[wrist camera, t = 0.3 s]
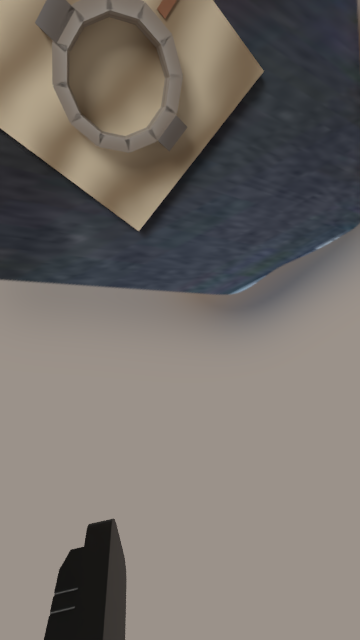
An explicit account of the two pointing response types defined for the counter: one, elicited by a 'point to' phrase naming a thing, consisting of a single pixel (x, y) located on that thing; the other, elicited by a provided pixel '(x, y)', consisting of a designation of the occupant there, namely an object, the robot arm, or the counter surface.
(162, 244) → the counter surface
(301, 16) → the counter surface
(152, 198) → the holder
